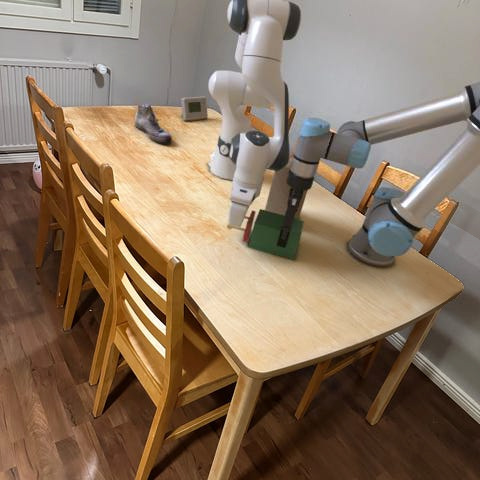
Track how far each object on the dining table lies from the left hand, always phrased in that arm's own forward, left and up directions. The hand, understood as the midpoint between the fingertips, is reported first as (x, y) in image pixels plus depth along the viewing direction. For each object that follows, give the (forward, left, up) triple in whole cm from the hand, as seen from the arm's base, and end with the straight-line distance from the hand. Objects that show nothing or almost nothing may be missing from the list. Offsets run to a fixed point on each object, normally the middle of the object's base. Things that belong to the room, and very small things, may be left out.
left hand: (237, 225), depth 139 cm
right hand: (-5, +14, 0) cm, 15 cm away
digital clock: (-76, -76, -3) cm, 108 cm away
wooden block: (-23, +5, -3) cm, 24 cm away
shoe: (-40, -71, -3) cm, 82 cm away
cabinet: (-4, +12, -3) cm, 13 cm away
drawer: (-2, +6, -2) cm, 7 cm away
